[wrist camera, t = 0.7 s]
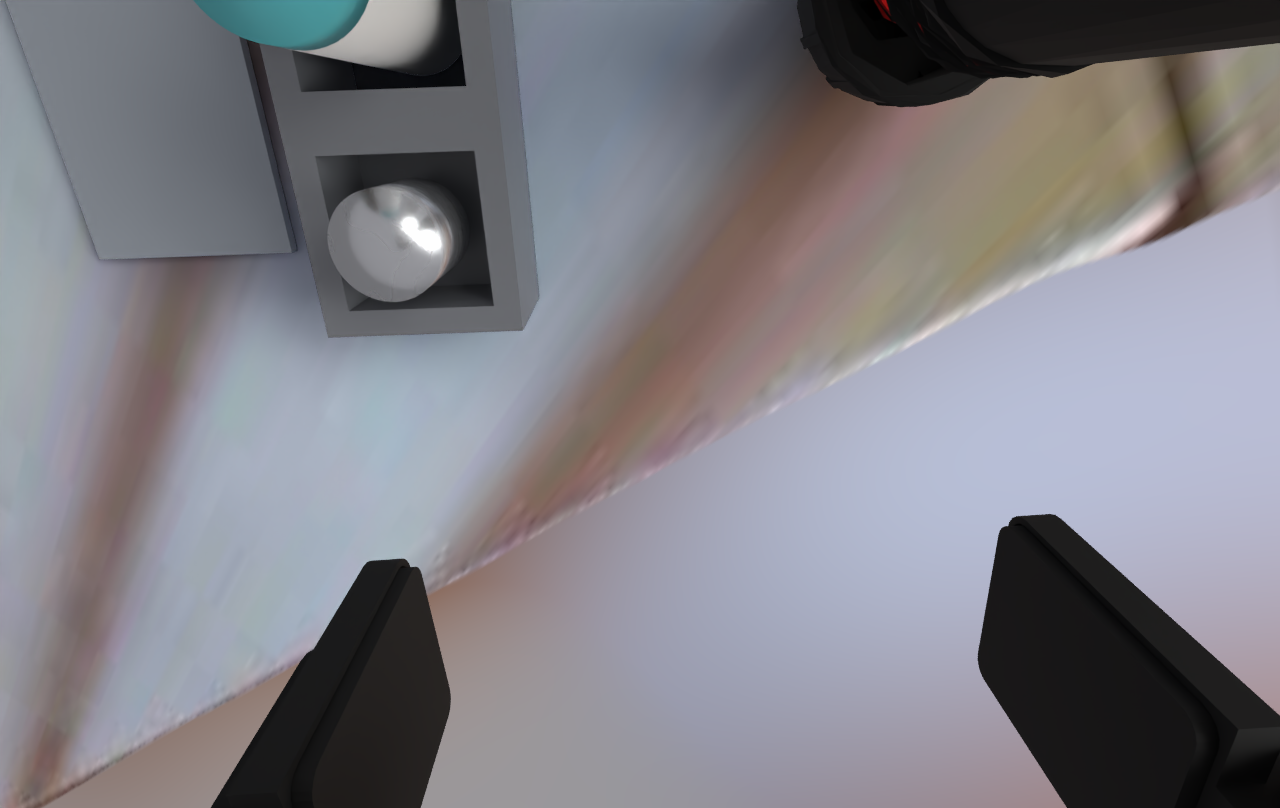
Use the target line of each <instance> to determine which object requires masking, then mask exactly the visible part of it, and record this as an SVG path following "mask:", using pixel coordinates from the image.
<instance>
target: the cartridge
mask: <svg viewBox="0 0 1280 808" xmlns="http://www.w3.org/2000/svg"><path fill="white" fill-rule="evenodd" d="M193 1H194V2H195V3H196V4H197V5H198V6H199V8H200V9H201V10H203V11H204V12H205V13H206V14H207V15H208V16H209V17H210V18H211V19H212V20H214V21H215V22H216V23H218V24H219V25H220V26H222V27H223V28H225V29H227V30H228V31H230V32H231V33H233V34H235V35H238V36H240V37H242V38H244V39H247V40H250V41H253V42H256V43H261V44H266V45H271V46H276V47H281V48H285V49H290V50H295V51H300V52H305V53H309V54H314V55H319V56H324V57H329V58H333V59H338V60H343V61H348V62H353V63H357V64H362V65H367V66H372V67H377V68H382V69H386V70H391V71H396V72H401V73H406V74H410V75H416V76H428V75H433V74H437V73H439V72H442V71H444V70H445V69H447V68H448V67H450V66H451V65H452V64H453V63H454V62H455V61H456V60H457V59H458V57H459V56H460V54H461V53H462V49H461V41H460V33H459V25H458V17H457V9H456V1H455V0H193Z"/></svg>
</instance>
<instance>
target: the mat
mask: <svg viewBox="0 0 1280 808" xmlns="http://www.w3.org/2000/svg"><path fill="white" fill-rule="evenodd" d="M5 2H6V5H7V7H8V10H9V13H10V15H11V18H12V21H13V24H14V26H15V29H16V32H17V35H18V37H19V40H20V43H21V46H22V48H23V51H24V54H25V57H26V59H27V62H28V65H29V68H30V70H31V73H32V76H33V79H34V81H35V84H36V87H37V90H38V92H39V95H40V98H41V101H42V103H43V106H44V109H45V112H46V114H47V117H48V120H49V123H50V125H51V128H52V131H53V134H54V136H55V139H56V142H57V144H58V147H59V150H60V153H61V155H62V158H63V161H64V164H65V166H66V169H67V172H68V175H69V177H70V180H71V183H72V186H73V188H74V191H75V194H76V197H77V199H78V202H79V205H80V208H81V210H82V213H83V216H84V219H85V221H86V224H87V227H88V230H89V232H90V235H91V238H92V241H93V243H94V246H95V249H96V252H97V254H98V257H99V260H105V259H133V258H160V257H188V256H216V255H244V254H272V253H293V252H295V251H297V247H296V243H295V239H294V235H293V230H292V226H291V222H290V218H289V214H288V210H287V206H286V201H285V197H284V193H283V189H282V185H281V181H280V177H279V172H278V168H277V164H276V160H275V156H274V152H273V148H272V143H271V139H270V135H269V131H268V127H267V123H266V119H265V114H264V110H263V106H262V102H261V98H260V94H259V90H258V85H257V81H256V77H255V73H254V69H253V65H252V61H251V56H250V52H249V48H248V44H247V40H246V39H244V38H242V37H240V36H238V35H235V34H233V33H231V32H230V31H228V30H227V29H225V28H223V27H222V26H220V25H219V24H218V23H216V22H215V21H214V20H212V19H211V18H210V17H209V16H208V15H207V14H206V13H205V12H204V11H203V10H201V9H200V8H199V6H198V5H197V4H196V3H195V2H194V1H193V0H5Z"/></svg>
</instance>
